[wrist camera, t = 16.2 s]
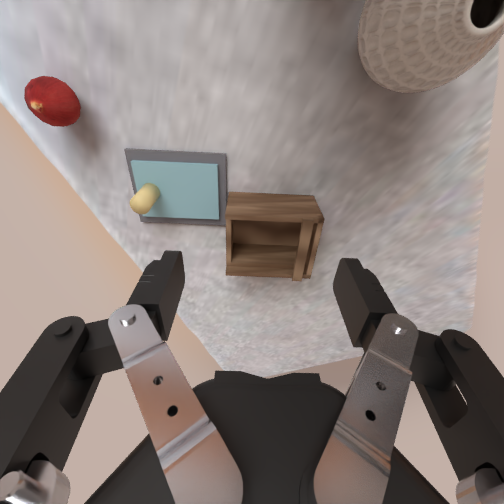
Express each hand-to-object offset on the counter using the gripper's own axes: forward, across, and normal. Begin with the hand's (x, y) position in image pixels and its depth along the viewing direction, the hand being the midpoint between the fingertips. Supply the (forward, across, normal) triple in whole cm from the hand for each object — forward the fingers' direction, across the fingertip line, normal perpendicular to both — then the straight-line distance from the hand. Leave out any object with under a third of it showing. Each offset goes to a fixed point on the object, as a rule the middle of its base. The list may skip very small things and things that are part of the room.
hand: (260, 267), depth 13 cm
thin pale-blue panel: (+32, +13, +10) cm, 36 cm away
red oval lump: (+33, +27, -3) cm, 43 cm away
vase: (+33, -17, -13) cm, 40 cm away
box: (+33, -4, +16) cm, 37 cm away
